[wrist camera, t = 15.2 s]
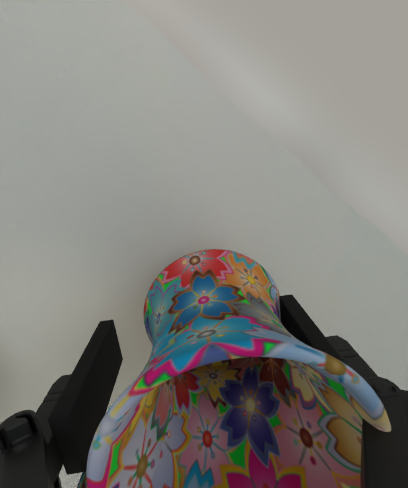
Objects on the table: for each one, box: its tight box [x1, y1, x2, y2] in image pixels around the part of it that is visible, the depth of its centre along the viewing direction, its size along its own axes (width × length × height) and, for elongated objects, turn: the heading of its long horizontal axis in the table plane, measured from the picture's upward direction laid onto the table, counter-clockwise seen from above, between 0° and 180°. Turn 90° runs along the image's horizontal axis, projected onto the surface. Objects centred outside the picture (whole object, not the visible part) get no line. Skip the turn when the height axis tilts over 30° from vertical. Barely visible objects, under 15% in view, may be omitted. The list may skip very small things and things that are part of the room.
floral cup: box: [77, 249, 391, 488], centre depth 14 cm, size 12×9×11 cm
